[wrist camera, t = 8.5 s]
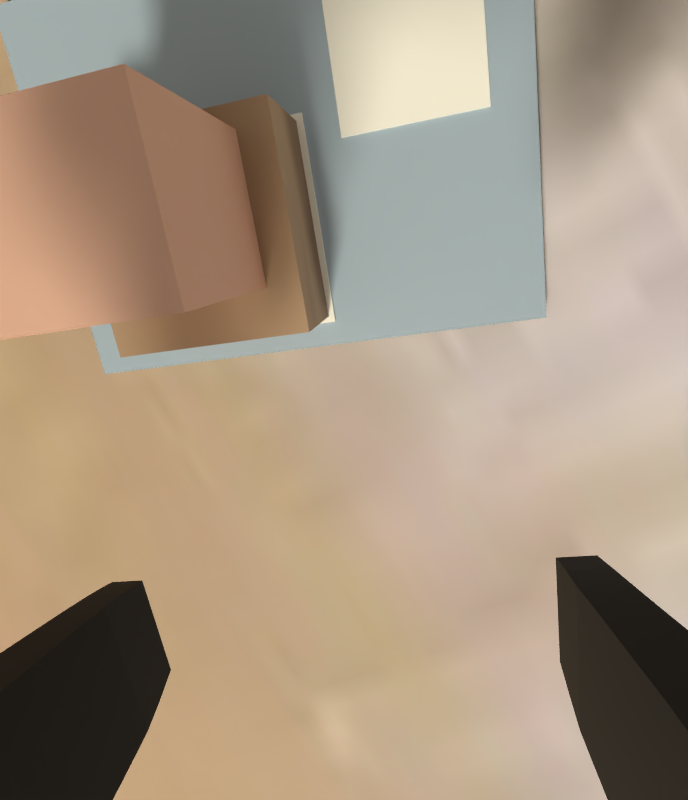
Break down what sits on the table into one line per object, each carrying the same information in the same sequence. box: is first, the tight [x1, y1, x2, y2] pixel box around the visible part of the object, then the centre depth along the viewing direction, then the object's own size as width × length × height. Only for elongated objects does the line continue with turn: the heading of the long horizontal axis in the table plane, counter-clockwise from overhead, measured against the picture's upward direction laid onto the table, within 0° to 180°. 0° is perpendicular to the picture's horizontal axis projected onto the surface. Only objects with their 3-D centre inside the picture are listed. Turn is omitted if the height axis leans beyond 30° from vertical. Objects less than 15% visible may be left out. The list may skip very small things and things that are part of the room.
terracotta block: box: [0, 64, 267, 340], centre depth 11 cm, size 4×4×5 cm
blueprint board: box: [0, 0, 546, 374], centre depth 16 cm, size 16×12×1 cm
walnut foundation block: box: [111, 94, 329, 358], centre depth 15 cm, size 6×6×3 cm
